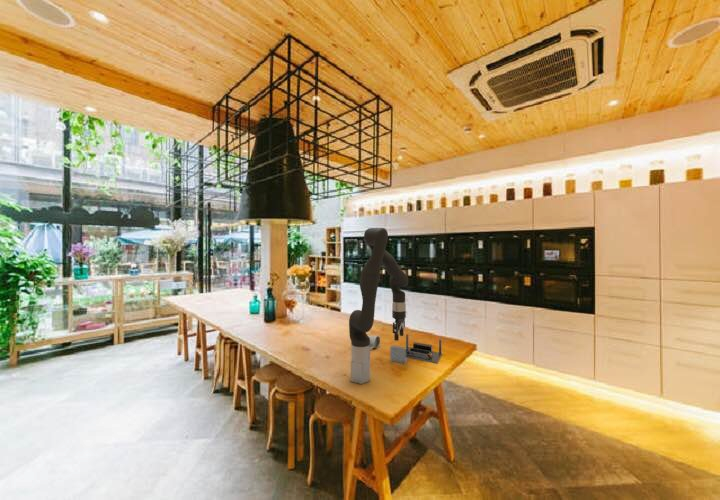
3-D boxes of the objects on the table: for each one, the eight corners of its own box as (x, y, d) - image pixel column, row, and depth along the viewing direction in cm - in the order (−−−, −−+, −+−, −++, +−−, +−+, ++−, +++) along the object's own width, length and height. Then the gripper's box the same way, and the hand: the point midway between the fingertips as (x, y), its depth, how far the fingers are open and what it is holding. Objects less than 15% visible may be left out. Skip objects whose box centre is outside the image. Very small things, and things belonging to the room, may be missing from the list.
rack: (437, 363, 148) (437, 347, 148) (399, 356, 158) (399, 340, 158) (441, 354, 161) (441, 339, 161) (406, 348, 171) (406, 334, 171)
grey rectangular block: (405, 364, 148) (405, 349, 148) (390, 360, 152) (390, 346, 152) (407, 361, 151) (407, 347, 151) (392, 358, 155) (392, 345, 155)
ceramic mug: (369, 343, 178) (369, 332, 178) (380, 346, 174) (380, 334, 174) (361, 349, 169) (361, 337, 169) (372, 352, 165) (372, 339, 165)
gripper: (401, 313, 143) (401, 343, 143) (409, 307, 155) (409, 335, 156) (388, 311, 146) (388, 341, 147) (396, 306, 159) (397, 333, 159)
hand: (399, 338), depth 151 cm, fingers open, 8 cm apart
